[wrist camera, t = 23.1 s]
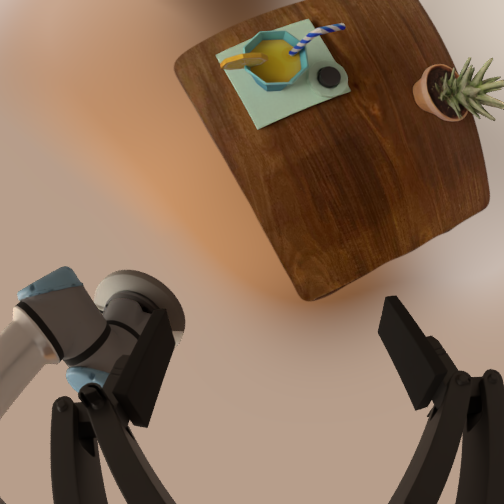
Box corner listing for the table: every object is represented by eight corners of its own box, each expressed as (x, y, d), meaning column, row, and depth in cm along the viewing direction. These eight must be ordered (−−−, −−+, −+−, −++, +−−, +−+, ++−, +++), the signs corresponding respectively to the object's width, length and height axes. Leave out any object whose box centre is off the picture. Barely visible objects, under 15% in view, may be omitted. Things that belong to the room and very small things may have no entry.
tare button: (323, 89, 33) (326, 87, 32) (314, 72, 32) (316, 69, 31) (341, 83, 33) (344, 81, 31) (332, 66, 32) (334, 63, 30)
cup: (306, 38, 31) (327, -4, 17) (330, 79, 34) (364, 52, 20) (223, 73, 34) (203, 40, 20) (247, 114, 37) (239, 100, 23)
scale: (257, 129, 39) (257, 129, 36) (216, 57, 34) (213, 51, 31) (349, 92, 35) (354, 89, 33) (307, 21, 31) (310, 14, 28)
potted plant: (440, 73, 32) (538, 58, 9) (448, 122, 35) (552, 133, 13) (396, 68, 33) (495, 34, 10) (406, 120, 36) (515, 124, 14)
